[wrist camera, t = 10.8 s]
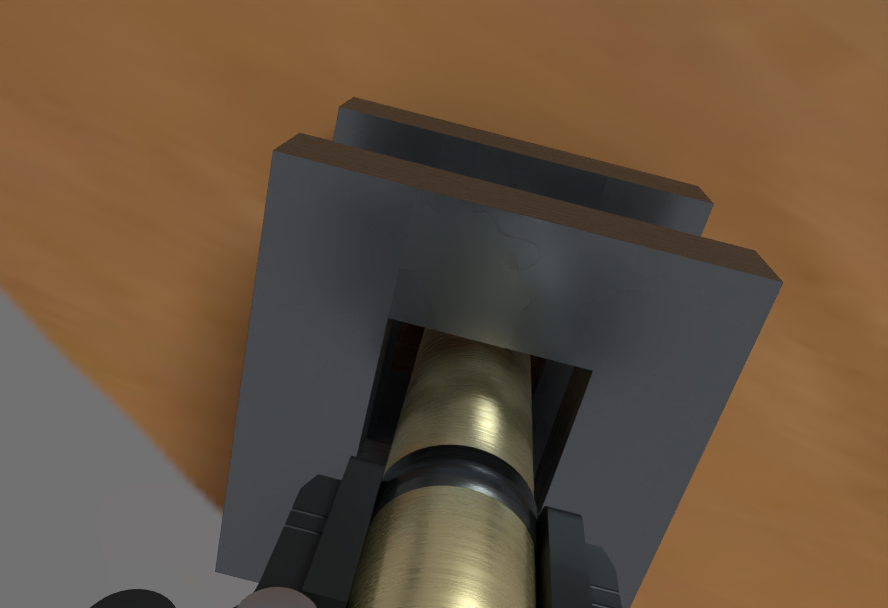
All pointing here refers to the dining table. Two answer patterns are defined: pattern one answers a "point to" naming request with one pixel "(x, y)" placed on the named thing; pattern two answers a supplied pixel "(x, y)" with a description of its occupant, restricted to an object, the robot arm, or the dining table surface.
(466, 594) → the brass tube
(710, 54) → the dining table surface
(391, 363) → the collar stand
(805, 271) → the dining table surface
